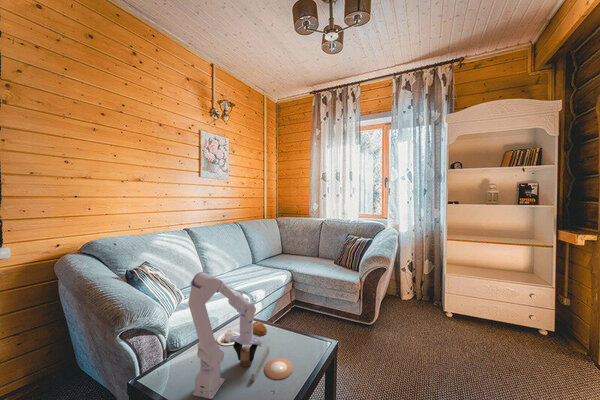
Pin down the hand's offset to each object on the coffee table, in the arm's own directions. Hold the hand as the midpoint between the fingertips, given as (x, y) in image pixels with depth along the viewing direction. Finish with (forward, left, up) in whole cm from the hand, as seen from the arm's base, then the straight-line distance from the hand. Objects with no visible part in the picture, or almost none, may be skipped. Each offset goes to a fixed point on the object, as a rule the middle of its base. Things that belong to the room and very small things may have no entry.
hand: (246, 359), depth 108 cm
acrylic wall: (0, -7, -2) cm, 7 cm away
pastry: (+26, +4, -2) cm, 26 cm away
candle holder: (+15, +16, -2) cm, 22 cm away
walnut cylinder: (0, 0, -2) cm, 2 cm away
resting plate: (0, -15, -2) cm, 15 cm away
